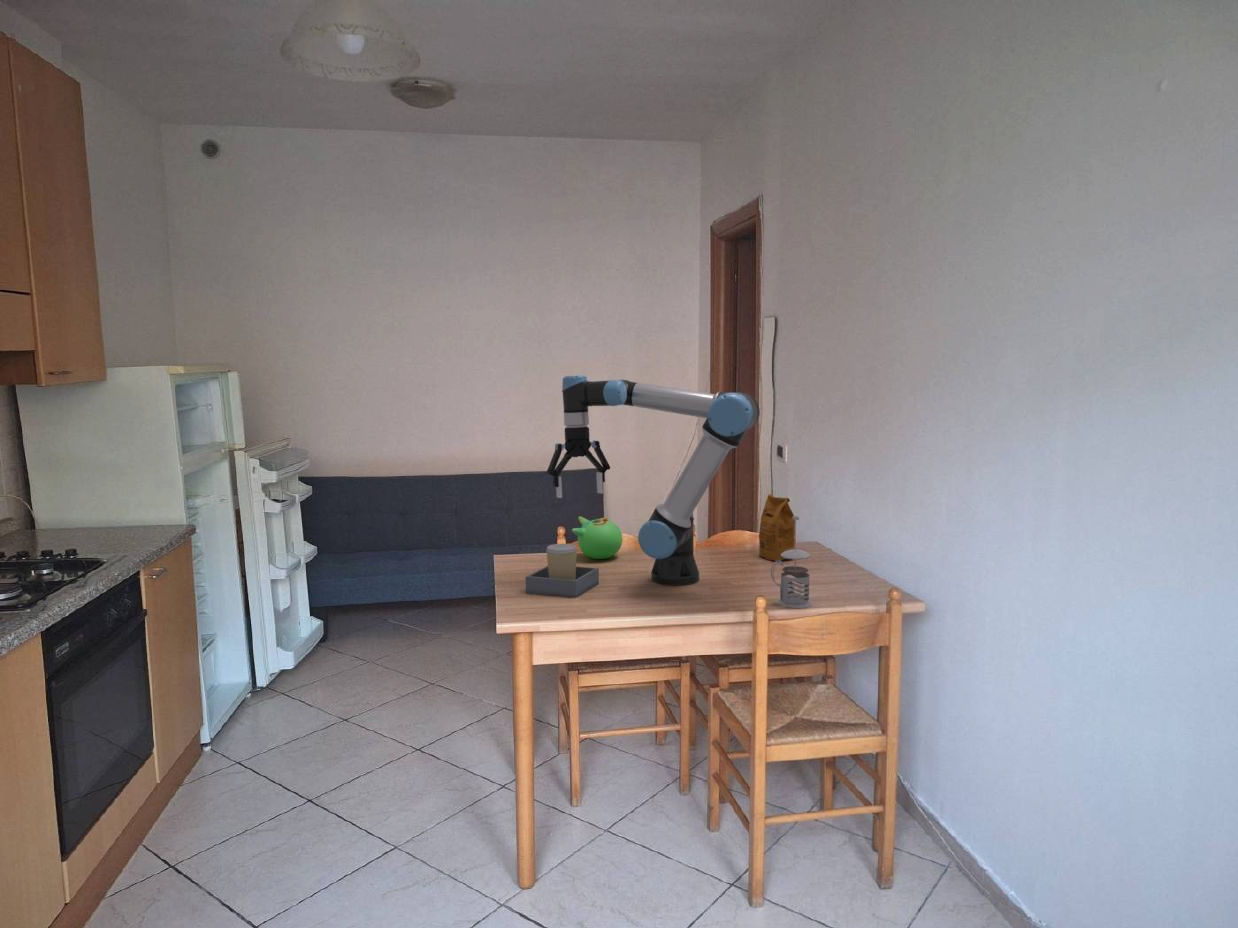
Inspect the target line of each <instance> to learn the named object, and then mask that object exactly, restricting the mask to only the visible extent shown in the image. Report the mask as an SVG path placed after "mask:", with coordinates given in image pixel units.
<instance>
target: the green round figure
mask: <svg viewBox="0 0 1238 928" xmlns="http://www.w3.org/2000/svg"><path fill="white" fill-rule="evenodd" d="M578 521H579V522H580V525H581V527H575V528H572V529H571V532H572V533H573V534H574V535H576V536H577V544H578V547H579V550H580V551H581V552H582V553H583V554H584V555H585V556H586V557H589V558H591V559H595V560H604V559H608V558H611V557H613V556H614V555H615V554H617V553H618V552H619V551H620V550H621V547H622V544H623V534H622V530H621V528H620V526H618V525H617V524H616V523H615V522H614V521H612V520H610V519H609V517H602V518H594V519H592V520H590V519H586V517H583V516H578Z"/></svg>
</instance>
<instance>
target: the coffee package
mask: <svg viewBox="0 0 1238 928" xmlns="http://www.w3.org/2000/svg"><path fill="white" fill-rule="evenodd" d="M789 502H791V500H790V498H789V497H775V496H774V495H772V494H771V493H769V494H768V496H767V498H766V501H765V504H764V507H763V509H762V513H761V516H760V517H761V518H760V524H759V534H758V542H759V543H758V544H759V548H758V551H759V552H758V556H759V557H762V558H764V559H766V560H767V559H769V560H768V561H772V560H773V561H772V562H776V561H778V560H781V561H783V560H786V559H785V558H783V557H781V554H782V553H783V552H785V551H788V550H791V549H795V520H793V519H792V517H793V516H794V512H793V511H792V509H791V507H790V504H789ZM778 562H779V561H778Z"/></svg>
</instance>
